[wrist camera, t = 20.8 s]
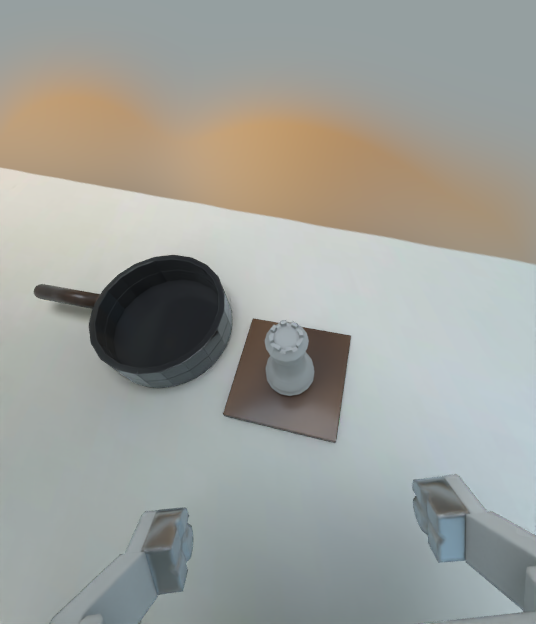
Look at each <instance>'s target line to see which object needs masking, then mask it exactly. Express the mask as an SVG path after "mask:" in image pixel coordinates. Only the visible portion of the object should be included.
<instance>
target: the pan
mask: <svg viewBox="0 0 536 624" xmlns="http://www.w3.org/2000/svg"><path fill="white" fill-rule="evenodd" d="M231 330H232V311H231V308H230V305H229V303H228V300H227V297H226V295H225V292H224V289H223V287H222V284H221V282H220V279H219V277H218V276H217V275H216V274H215V273H214V272H213V271H212V270H211V269H210V268H209V267H208V266H207V265H206V264H204V263H202V262H200V261H198V260H196V259H193V258H191V257H185V256H178V255H168V256H159V257H153V258H150V259H148V260H145V261H142V262H139V263H136V264H134V265H133V266H131V267H130V268H128V269H126V270H125V271H123V272H122V273H120V274H119V275H117V276H116V277H115V278H114V279H113V280H112V281H111V282H110V283H109V284H108V285H107V286H106V287H105V288H104V290H103V291H102V293H101V294H100V296H99V298H98V299H97V301H96V303H95V304H94V307H93V309H92V313H91V318H90V322H89V332H90V340H91V344H92V346H93V348H94V349H95V351H96V353H97V354H98V356H99V358H100V359H101V360H102V361H104V362H105V363H107V364H108V365H109V366H111V367H112V368H114V369H115V370H116V371H118V372H119V373H121V374H122V375H123V376H125V377H126V378H128V379H129V380H131V381H132V382H133V383H136V384H139V385H142V386H146V387H152V388H165V387H172V386H177V385H180V384H183V383H186V382H188V381H190V380H192V379H194V378H196V377H198V376H199V375H201V374H202V373H204V372H205V371H206V370H207V369H209V368H210V367H211V366H212V365H213V364H214V363H215V362H216V361H217V360H218V358H219V357H220V356H221V354H222V353H223V351H224V349H225V347H226V346H227V343H228V341H229V338H230V335H231Z"/></svg>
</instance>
